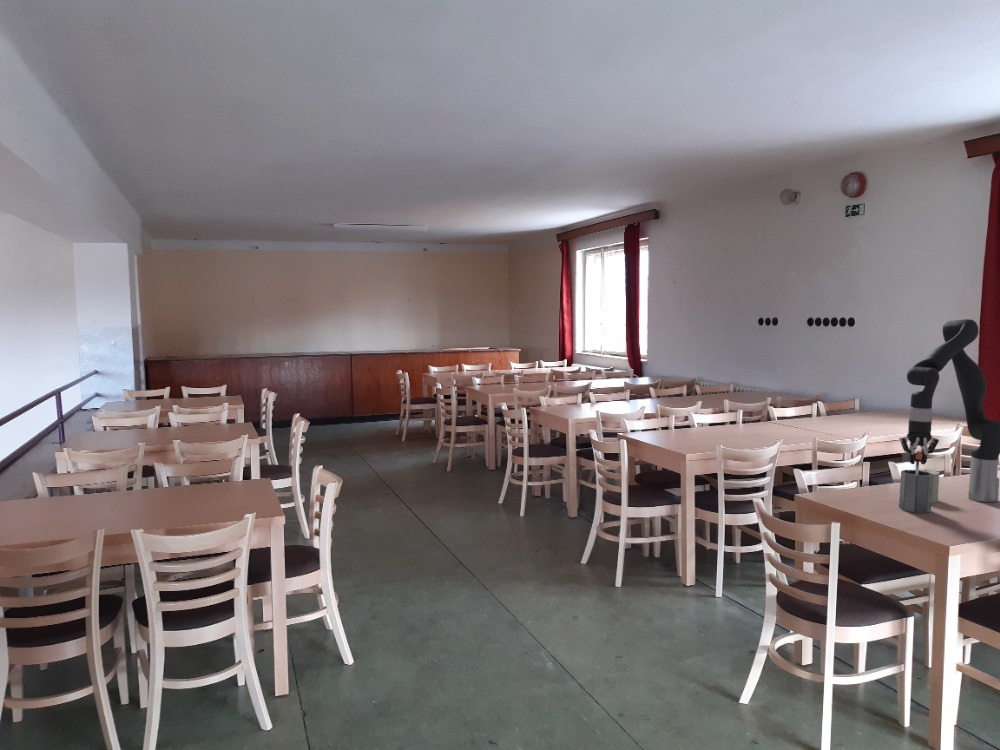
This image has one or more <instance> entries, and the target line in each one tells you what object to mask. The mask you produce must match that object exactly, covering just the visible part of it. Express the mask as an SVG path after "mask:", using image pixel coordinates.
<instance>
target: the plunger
mask: <svg viewBox="0 0 1000 750" xmlns="http://www.w3.org/2000/svg"><path fill="white" fill-rule="evenodd" d="M914 455H915V470H916V473H915V475H918V473H919V469H920V463H921V462H923V452H922V451H919V450H915V454H914Z"/></svg>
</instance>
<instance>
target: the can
mask: <svg viewBox="0 0 1000 750" xmlns="http://www.w3.org/2000/svg"><path fill="white" fill-rule="evenodd" d="M919 471H925V472H929V473H931V474H933V487H932V503H937V502H939V487H940V486H939V484H940V471H937V470H932V469H925V468H924V469H923V468H919Z"/></svg>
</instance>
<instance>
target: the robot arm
mask: <svg viewBox="0 0 1000 750" xmlns="http://www.w3.org/2000/svg"><path fill="white" fill-rule="evenodd" d="M979 330H980V329H979V326H978V323H977V322H976V321H975V320H973V319H969V318H967V319H958V320H957V319H955V320H949V321H946V322H944V323H943V326H942V337H943V339H944V343H942V344H940V345H938V346H937V347H935V348H934V349H933V350H931V351H930V353H929V354H928V355H927V356H926V357H925V358H924V359H922V360H920V361H919V362H917V363H916V364H913V365H912V366H911V367H910V368H909V369H908V371H907V372H906V373H907V374H906V380H907V382H908V383H909V384H910V385H913V386H922V387H923V389H922V390H919V391H914V392H912V393H911V394H910V395H911V396H910V410H909V413H908V414H909V415H908V429H907V430H908V431H907V434H906V435H905V436H900V437H899V441H900V444H901V447H902V449H903V452H905V453H907V454H908V462H909V463H910V464H911V465H914V464H916V461H915V455H914V454H915V451H917V448H918V446H919V447H920V449H921V451H920V452H923V462H920V464H921V465H926V464H927V462H928V455H929V454H934V451H935V449H936V447H937V446H938V444H939V441H940V439H938V438H935V437H933V435H932V433H931V432H932V421H933V408H932V407H933V397H934V394H935V391H936V388H937V386H938V384H939V380H940V374H939V372H942V371H943V369H944V368H945V367H946V365H947V364H948V363H949V362H950V361H952V364H953V368H954V372H955V375H956V377H955V378H956V380H957V384H958V388H959V391H960V394H961V398H962V403H963V406H964V411H965V412H964V413H965V418H966V426H967V432H968V434H969V435H970V436H971V438H973V439H975V440H978V441H980V444H979V446H978V448H977V447H976V448H973V449H972V450H971V452H970V453H971V454H970V456H971V457H970V468H969V480H968V481H969V483H968V499H970V500H972V501H976V502H982V503H995V502H999V488H1000V478H999V477H998V469H999V468H998V467H999V457H1000V421H998V420H996V419H991V418H987V416H986V415H985V411H984V406H983V404H984V403H983V402H984V399H985V396H986V394H987V381H986V377H985V374H984V372H983V369H982V368H981V367H980V366H979V365H978V363H976V361H974V360H973V358H971V357H970V356H969V355H968V354H967V352H966V351H965V348H966V347H968V346H969V345H971V344H972V343H973V342H974V341H975V340H976V339H977V338H978V336H979V332H980V331H979ZM908 440H909V441H908ZM908 442H910V443H909V445H908ZM928 443H929V445H928Z"/></svg>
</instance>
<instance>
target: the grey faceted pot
mask: <svg viewBox="0 0 1000 750" xmlns="http://www.w3.org/2000/svg"><path fill="white" fill-rule="evenodd" d="M915 473H916V469H903V470H900V481H899V483H900V485H899V499H898V500H899V501H898V502H899V503H898V507H899V509H900V510H901V511H904V512H908V513H911V514H912V513H914V514H929V513H931V512H932V503H933V502H932V487H933V474H931V473H929V472H925V471H919V473H918V475H915Z"/></svg>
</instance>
